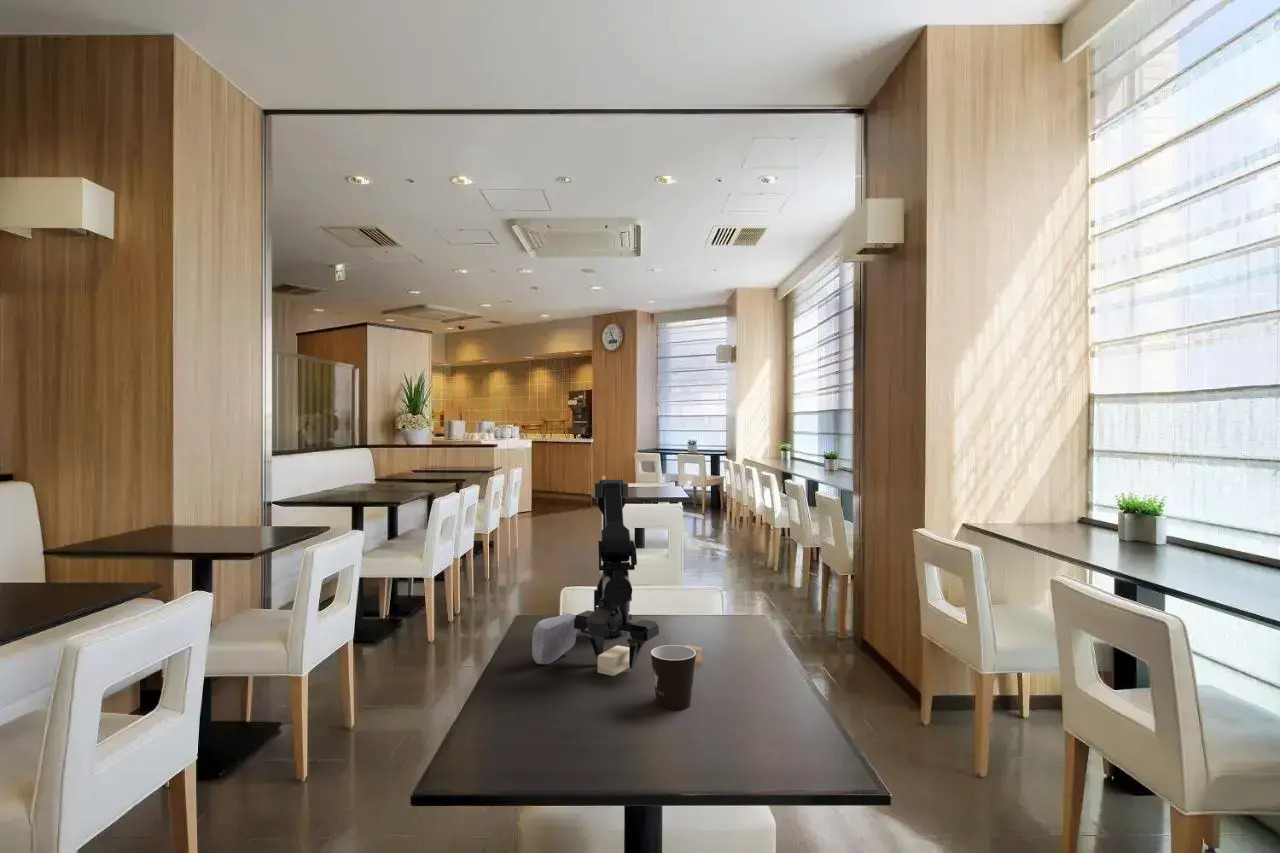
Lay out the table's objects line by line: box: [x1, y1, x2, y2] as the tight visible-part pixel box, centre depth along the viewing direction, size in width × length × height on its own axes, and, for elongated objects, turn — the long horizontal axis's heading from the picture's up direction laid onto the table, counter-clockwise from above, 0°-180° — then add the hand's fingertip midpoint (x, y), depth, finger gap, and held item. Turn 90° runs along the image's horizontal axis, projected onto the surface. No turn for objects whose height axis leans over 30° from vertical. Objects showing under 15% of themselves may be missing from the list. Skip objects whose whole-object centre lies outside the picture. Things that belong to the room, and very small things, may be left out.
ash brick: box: [597, 645, 630, 677], centre depth 150 cm, size 8×4×4 cm, turn 150°
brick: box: [684, 644, 703, 671], centre depth 150 cm, size 8×4×4 cm, turn 146°
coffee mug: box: [650, 644, 696, 712], centre depth 132 cm, size 12×9×10 cm
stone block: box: [531, 611, 579, 665], centre depth 154 cm, size 12×5×10 cm, turn 143°
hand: (615, 664), depth 150 cm, fingers open, 8 cm apart
